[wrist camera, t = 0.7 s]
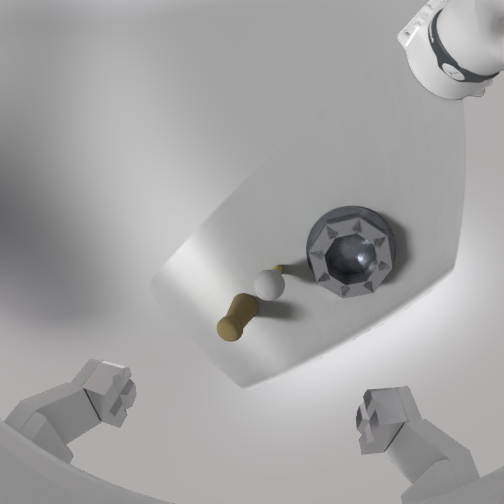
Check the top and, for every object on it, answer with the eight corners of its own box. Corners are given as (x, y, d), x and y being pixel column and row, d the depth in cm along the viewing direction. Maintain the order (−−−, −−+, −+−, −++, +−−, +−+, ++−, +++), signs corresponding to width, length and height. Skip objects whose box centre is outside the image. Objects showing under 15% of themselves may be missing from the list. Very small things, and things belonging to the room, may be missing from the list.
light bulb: (297, 273, 56) (286, 298, 47) (275, 285, 58) (261, 311, 49) (281, 251, 55) (268, 272, 46) (260, 264, 58) (243, 286, 49)
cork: (263, 310, 61) (247, 340, 52) (244, 320, 64) (225, 349, 54) (247, 288, 61) (227, 316, 51) (227, 300, 63) (206, 327, 54)
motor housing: (335, 188, 48) (334, 192, 44) (411, 238, 46) (417, 246, 42) (290, 263, 55) (286, 272, 51) (361, 305, 54) (362, 318, 50)
